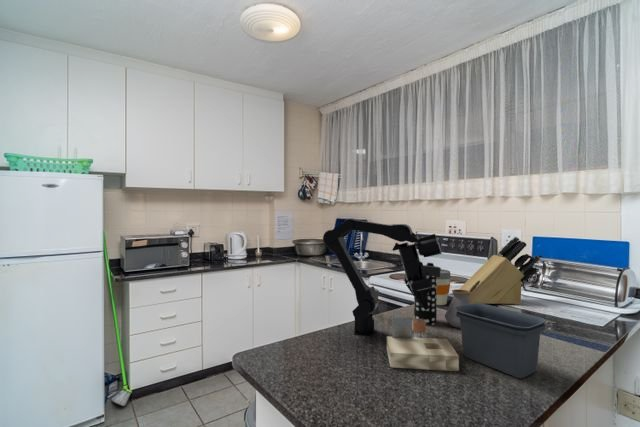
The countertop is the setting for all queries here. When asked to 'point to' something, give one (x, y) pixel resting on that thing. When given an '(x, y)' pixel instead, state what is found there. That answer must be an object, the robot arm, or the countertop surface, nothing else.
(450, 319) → the coffee pot
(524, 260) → the knife block
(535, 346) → the storage bin
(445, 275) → the reusable coffee cup
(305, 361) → the countertop surface
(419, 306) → the white-spotted black cylinder
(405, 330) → the latch flap
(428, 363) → the block
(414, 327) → the peg
